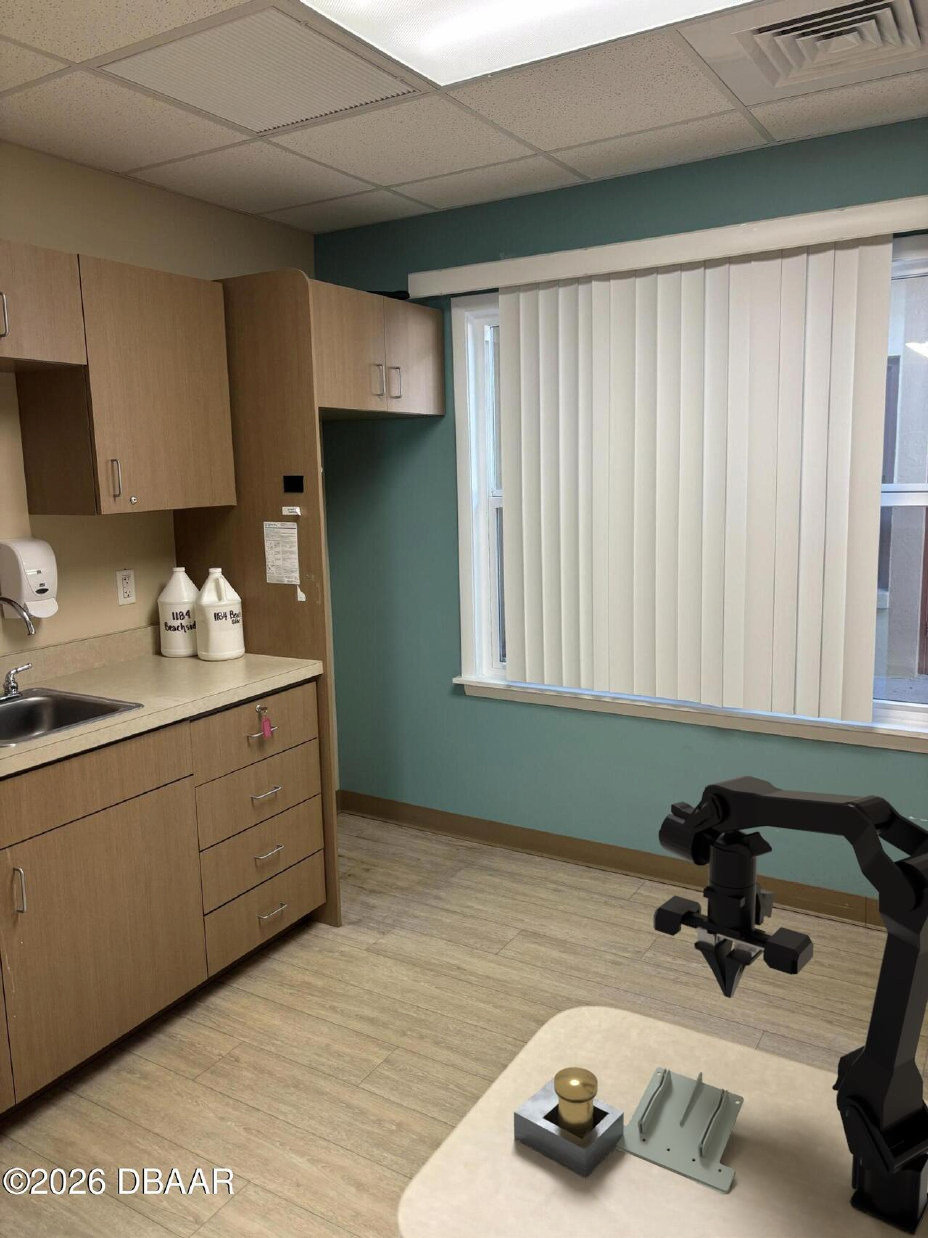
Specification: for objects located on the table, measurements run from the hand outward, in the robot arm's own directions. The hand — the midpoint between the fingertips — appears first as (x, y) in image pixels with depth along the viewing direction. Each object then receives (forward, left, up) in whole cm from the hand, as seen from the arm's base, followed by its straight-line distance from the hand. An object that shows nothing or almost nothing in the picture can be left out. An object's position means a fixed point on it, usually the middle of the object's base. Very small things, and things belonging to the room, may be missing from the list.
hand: (729, 996), depth 119 cm
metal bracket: (0, +12, -13) cm, 18 cm away
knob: (+9, +21, -12) cm, 26 cm away
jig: (+9, +21, -12) cm, 26 cm away
